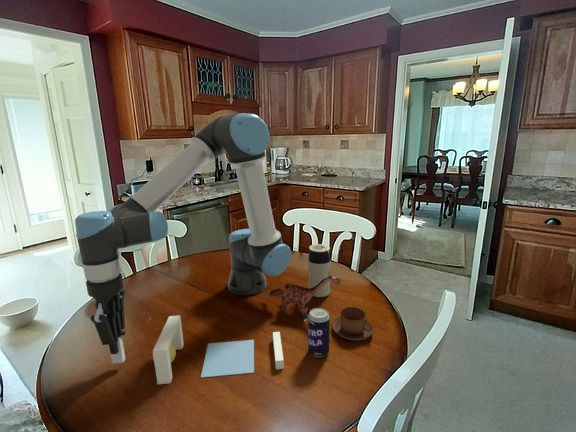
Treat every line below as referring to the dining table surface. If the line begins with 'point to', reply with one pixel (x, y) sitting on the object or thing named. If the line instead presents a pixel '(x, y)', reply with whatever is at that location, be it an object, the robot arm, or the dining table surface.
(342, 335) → the cup and saucer
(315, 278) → the travel mug
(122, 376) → the dining table surface
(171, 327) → the bridge
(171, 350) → the ball
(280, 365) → the stopper
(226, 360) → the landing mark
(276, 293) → the toy dinosaur
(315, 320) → the beverage can
